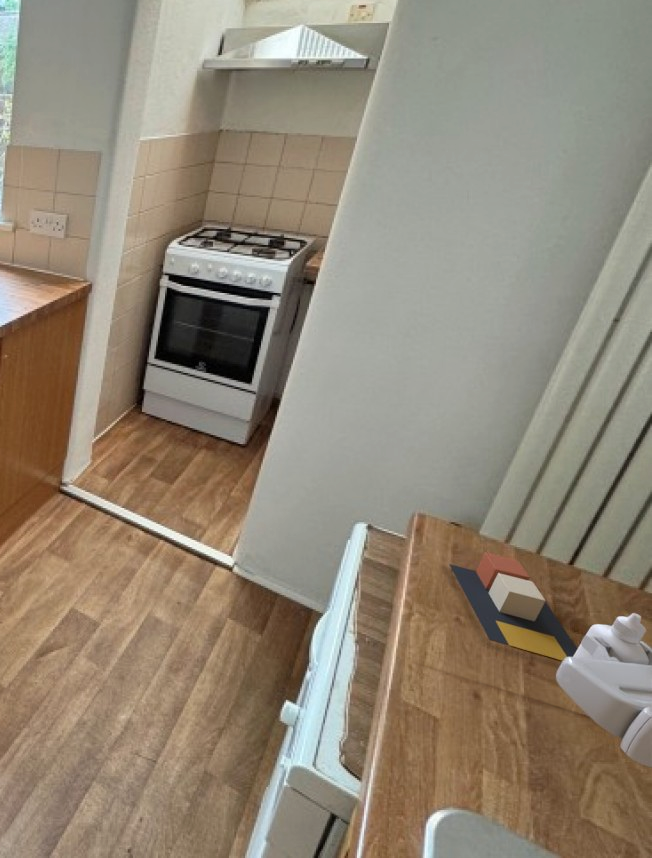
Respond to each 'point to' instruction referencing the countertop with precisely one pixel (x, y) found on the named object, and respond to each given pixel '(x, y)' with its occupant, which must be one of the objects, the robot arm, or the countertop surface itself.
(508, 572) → the terracotta letter block
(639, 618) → the eye dropper bottle
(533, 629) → the word mat
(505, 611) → the cream cube
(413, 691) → the countertop surface
